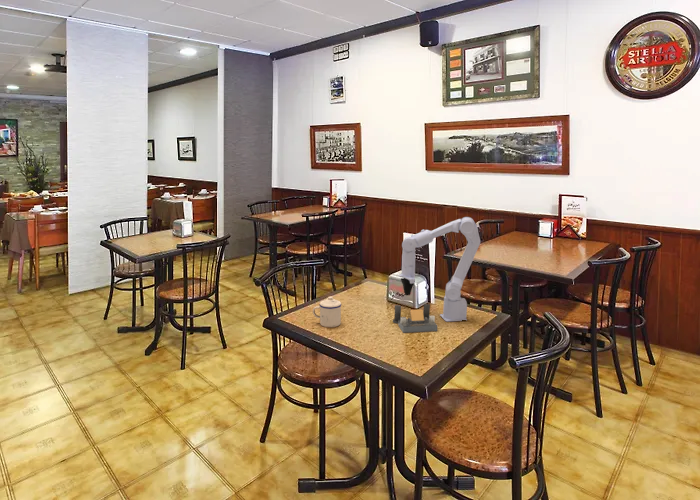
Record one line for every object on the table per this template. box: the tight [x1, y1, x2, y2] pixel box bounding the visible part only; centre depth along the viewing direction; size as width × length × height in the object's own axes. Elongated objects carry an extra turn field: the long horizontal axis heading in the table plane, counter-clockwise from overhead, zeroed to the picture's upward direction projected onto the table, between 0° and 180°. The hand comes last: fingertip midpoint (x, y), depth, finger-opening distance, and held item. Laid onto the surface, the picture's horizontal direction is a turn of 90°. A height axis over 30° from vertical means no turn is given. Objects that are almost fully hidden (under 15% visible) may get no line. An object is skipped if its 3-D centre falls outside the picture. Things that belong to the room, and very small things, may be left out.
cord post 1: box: [392, 304, 402, 325], centre depth 188 cm, size 4×4×7 cm
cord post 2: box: [422, 303, 431, 318], centre depth 190 cm, size 4×4×7 cm
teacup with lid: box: [312, 296, 342, 328], centre depth 185 cm, size 12×9×12 cm
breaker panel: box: [397, 315, 438, 334], centre depth 181 cm, size 14×8×5 cm, turn 98°
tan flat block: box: [409, 309, 425, 322], centre depth 182 cm, size 6×1×5 cm, turn 98°
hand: (407, 294), depth 195 cm, fingers closed
